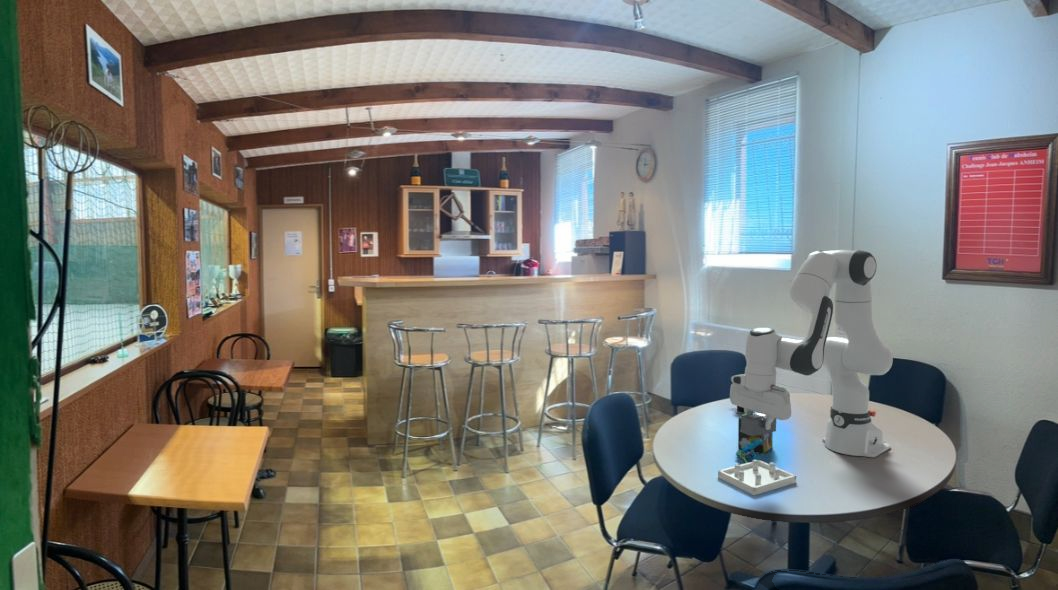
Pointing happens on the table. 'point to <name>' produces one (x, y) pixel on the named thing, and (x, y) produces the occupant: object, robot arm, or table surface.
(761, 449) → the chalk box
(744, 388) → the robot arm
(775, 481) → the holder tray
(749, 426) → the block
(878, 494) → the table surface
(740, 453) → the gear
